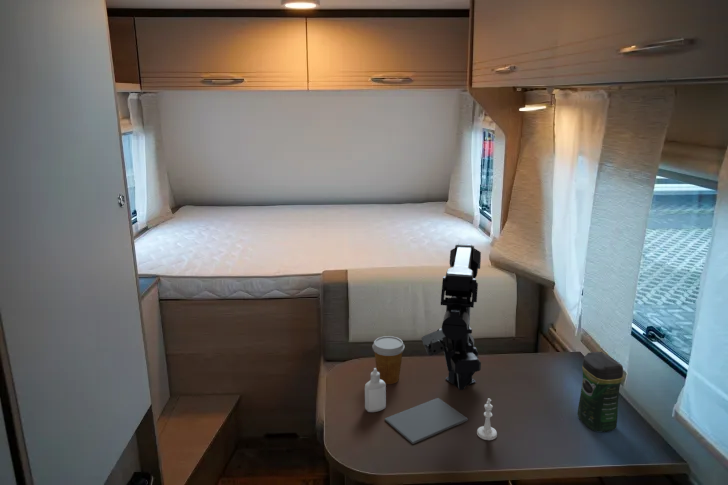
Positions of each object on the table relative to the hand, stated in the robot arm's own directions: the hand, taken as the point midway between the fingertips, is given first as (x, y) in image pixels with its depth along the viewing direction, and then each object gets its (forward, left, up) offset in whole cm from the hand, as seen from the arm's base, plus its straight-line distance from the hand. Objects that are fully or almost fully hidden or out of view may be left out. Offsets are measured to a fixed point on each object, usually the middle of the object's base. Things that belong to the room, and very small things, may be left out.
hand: (455, 380), depth 135 cm
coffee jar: (-32, +19, -14) cm, 40 cm away
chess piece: (-5, +7, -14) cm, 16 cm away
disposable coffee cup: (0, -29, -14) cm, 32 cm away
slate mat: (+4, -6, -14) cm, 15 cm away
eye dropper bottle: (+12, -18, -14) cm, 26 cm away
